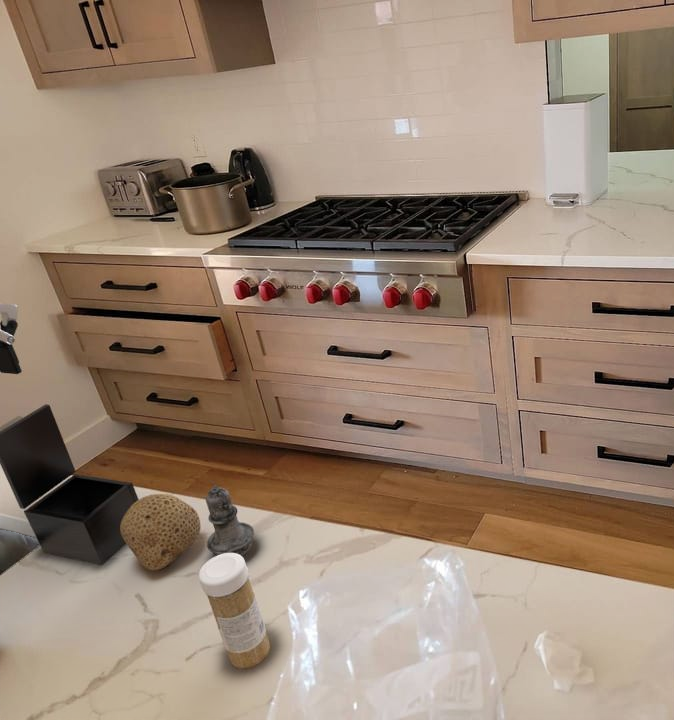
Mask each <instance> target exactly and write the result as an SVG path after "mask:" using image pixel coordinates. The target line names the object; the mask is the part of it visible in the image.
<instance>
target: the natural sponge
mask: <svg viewBox="0 0 674 720" xmlns="http://www.w3.org/2000/svg"><path fill="white" fill-rule="evenodd" d="M200 530H201V520H200V516H199V514H198V512H197V510H196V509H195V508H194V507H192V506H191V505H190V504H188V503H187V502H185V501H184V500H182V499H180V498H179V497H176V496H174V495H172V494H168V493H155V494H149V495H146V496H143V497H142V498H139V500H138V501H136V502H135V503H134V504H133V505H132V506H131V507H130V508H129V509H128V511H127V512H126V514H125V515H124V517H123V519H122V522H121V525H120V531H121V535H122V537H123V539H124V541H125V542H126V544H125V545H127V547H128V549H130V551H131V552H132V553H133V555H134V556H135V558H136V559H137V561H138V562H139V563H140V564H141V566H143V567H144V568H146V569H148V570H150V571H157V570H161V569H163V568H165V567H168V566H169V565H170V564H172V563H173V562H175V560H177V559H178V558H179V556H180V555H181V554H182V553H184V552H185V551H187V550H188V549H190V548H191V547H192V546H193V545H194V544H195V543H196V541H197V539H198V537H199V535H200Z"/></svg>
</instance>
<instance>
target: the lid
mask: <svg viewBox="0 0 674 720" xmlns="http://www.w3.org/2000/svg"><path fill="white" fill-rule="evenodd" d="M0 467H1V469H2V471H3V474H4V475H5V478H6V480H7V482H8V484H9V487H10V489H11V491H12V494H13V495H14V498H15V500H16V502H17V504H18V506H19V509H21V510H26V509H28V508H29V507H30V506H32V505H33V504H34V503H36V502H37V501H39V500H40V499H41V498H43V497H44V496H45V495H47V494H48V493H50V492H51V491H52V490H54V489H55V488H56V487H58V486H59V485H61V484H62V483H63V482H65V481H66V480H68V479H69V478H70V477H72V476H73V475H74V474H76V471H77V470H76V469H75V466H74V463H73V461H72V459H71V456H70V454H69V451H68V448H67V446H66V444H65V440H64V438H63V435H62V433H61V431H60V428H59V425H58V422H57V420H56V417H55V416H54V413H53V411H52V407H51V405H50V404H48V403H46V404H44V405H42V406H40V407H39V408H37V409H35V410H34V411H32V412H30V413H28V414H27V415H25V416H24V417H23V416H21V415H17V416H15V417H13V418H11V419H10V420H8V421H6V422H4V423H3V424H1V425H0Z"/></svg>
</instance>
